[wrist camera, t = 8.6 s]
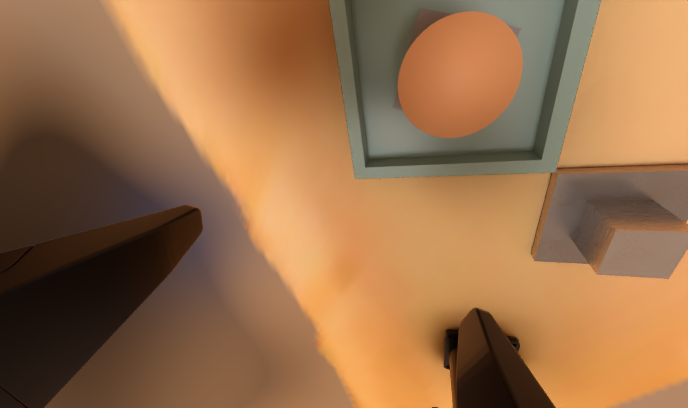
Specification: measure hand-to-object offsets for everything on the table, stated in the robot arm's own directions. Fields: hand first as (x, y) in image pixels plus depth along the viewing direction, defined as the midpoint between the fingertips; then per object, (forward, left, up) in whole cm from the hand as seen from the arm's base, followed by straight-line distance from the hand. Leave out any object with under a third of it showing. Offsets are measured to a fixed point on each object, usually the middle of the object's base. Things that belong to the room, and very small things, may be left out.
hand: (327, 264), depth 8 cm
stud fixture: (-6, -14, -12) cm, 20 cm away
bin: (+4, -4, -12) cm, 14 cm away
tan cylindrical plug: (+4, -4, -12) cm, 13 cm away
